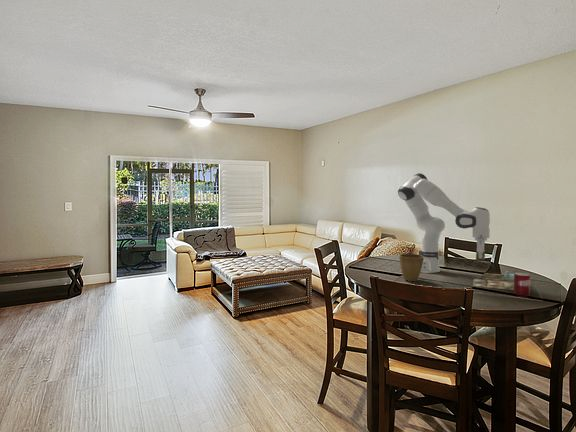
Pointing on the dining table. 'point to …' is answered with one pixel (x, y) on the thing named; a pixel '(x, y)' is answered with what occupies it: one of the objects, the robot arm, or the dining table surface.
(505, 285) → the board
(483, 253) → the block
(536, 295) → the dining table surface
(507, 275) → the lid
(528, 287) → the soda can
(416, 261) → the plant pot
